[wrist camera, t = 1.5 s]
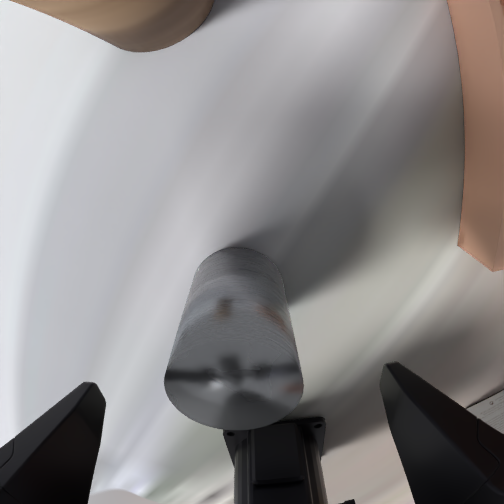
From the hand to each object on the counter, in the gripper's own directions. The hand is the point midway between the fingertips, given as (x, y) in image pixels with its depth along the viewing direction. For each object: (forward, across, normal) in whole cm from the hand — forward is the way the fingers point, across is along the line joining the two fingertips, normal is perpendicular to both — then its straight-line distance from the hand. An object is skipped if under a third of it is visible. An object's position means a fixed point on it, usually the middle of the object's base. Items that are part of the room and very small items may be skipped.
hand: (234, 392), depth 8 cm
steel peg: (+6, 0, 0) cm, 6 cm away
